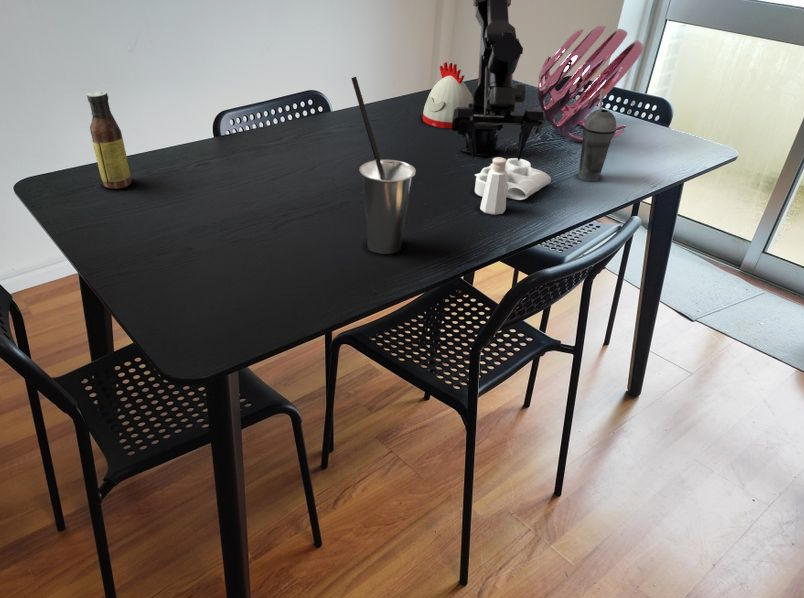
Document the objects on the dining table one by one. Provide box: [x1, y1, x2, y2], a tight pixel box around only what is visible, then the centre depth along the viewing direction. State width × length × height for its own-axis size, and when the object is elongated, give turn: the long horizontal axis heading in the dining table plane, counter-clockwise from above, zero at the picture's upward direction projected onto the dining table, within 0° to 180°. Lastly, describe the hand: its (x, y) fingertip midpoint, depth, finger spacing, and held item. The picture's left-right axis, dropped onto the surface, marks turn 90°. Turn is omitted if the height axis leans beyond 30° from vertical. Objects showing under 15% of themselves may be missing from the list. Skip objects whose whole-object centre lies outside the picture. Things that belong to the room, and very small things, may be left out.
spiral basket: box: [536, 24, 645, 143], centre depth 181 cm, size 28×28×27 cm
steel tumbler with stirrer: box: [350, 76, 417, 255], centre depth 127 cm, size 11×11×30 cm
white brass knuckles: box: [474, 157, 552, 201], centre depth 159 cm, size 3×18×15 cm
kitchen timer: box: [422, 61, 473, 129], centre depth 193 cm, size 14×14×15 cm
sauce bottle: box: [86, 90, 132, 190], centre depth 151 cm, size 7×6×20 cm
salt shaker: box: [479, 156, 508, 216], centre depth 147 cm, size 5×5×11 cm
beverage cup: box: [578, 89, 617, 182], centre depth 159 cm, size 7×7×20 cm
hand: (496, 158), depth 147 cm, fingers open, 9 cm apart
